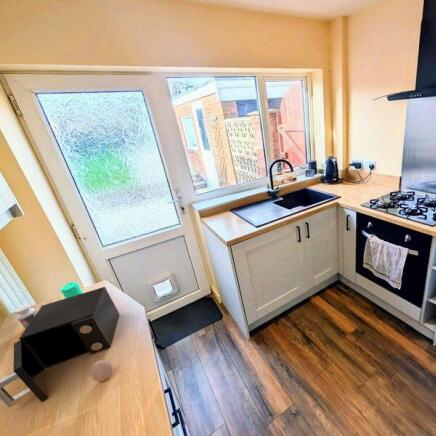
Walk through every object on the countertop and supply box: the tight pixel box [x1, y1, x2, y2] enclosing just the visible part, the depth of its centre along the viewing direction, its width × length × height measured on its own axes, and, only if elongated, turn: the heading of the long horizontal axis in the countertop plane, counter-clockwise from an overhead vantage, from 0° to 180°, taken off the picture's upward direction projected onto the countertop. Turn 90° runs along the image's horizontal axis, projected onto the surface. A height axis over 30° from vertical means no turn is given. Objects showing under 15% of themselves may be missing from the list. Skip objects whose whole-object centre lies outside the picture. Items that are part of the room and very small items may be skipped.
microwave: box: [18, 286, 121, 370], centre depth 89 cm, size 18×20×15 cm
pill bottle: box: [15, 304, 38, 330], centre depth 100 cm, size 5×5×10 cm
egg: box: [90, 359, 113, 382], centre depth 77 cm, size 5×5×7 cm
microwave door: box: [0, 339, 50, 408], centre depth 73 cm, size 7×14×15 cm, turn 47°
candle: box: [60, 281, 84, 299], centre depth 109 cm, size 6×6×12 cm
